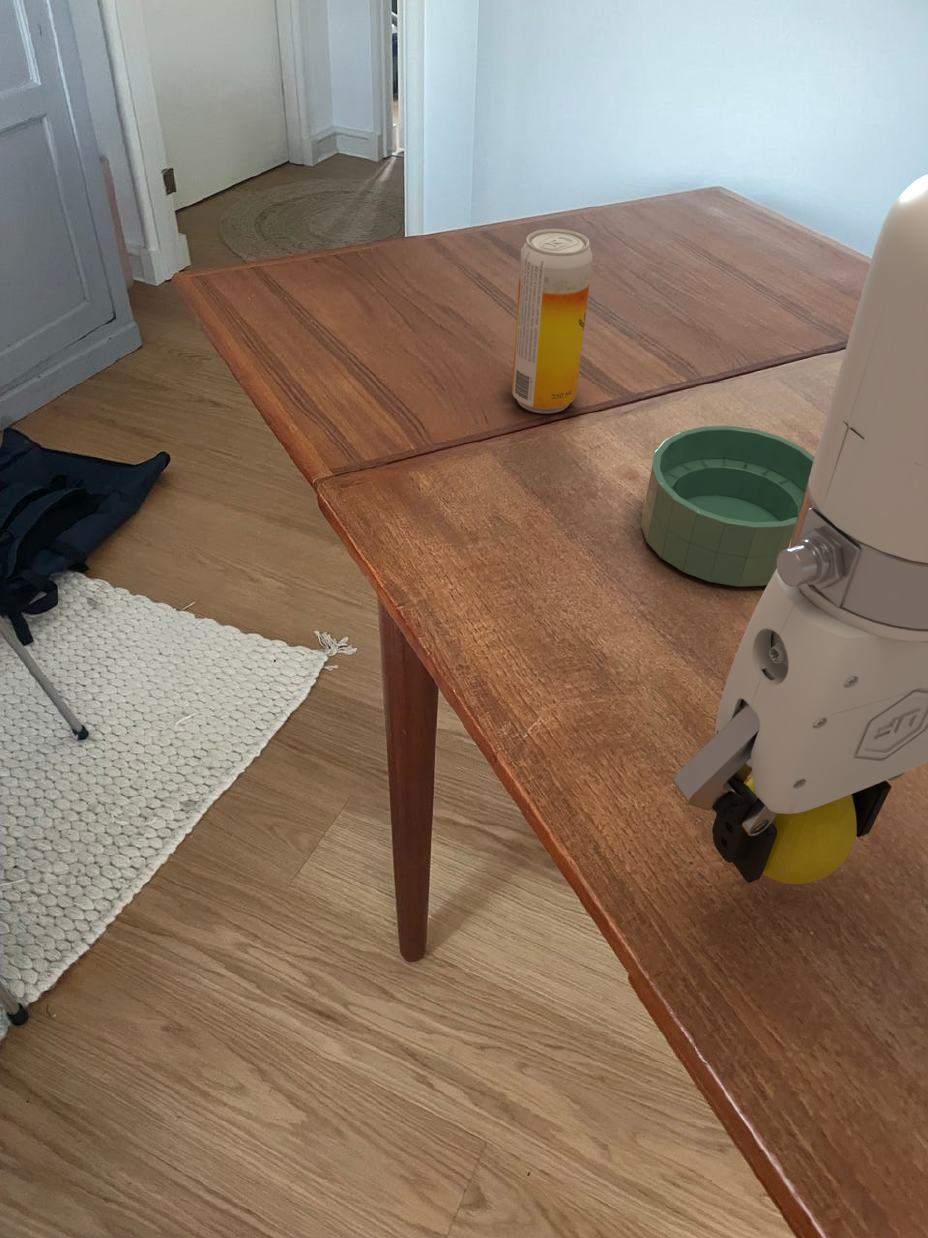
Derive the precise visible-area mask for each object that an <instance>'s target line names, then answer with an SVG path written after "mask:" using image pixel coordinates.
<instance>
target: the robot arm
mask: <svg viewBox="0 0 928 1238" xmlns="http://www.w3.org/2000/svg"><path fill="white" fill-rule="evenodd" d="M878 234H879V235H878V238H877V240H876V243H875V246H874V250H873V253H872V256H871V259H870V263H869V267H868V271H867V274H866V277H865V281H864V284H863V287H862V291H861V295H860V298H859V302H858V305H857V309H856V312H855V315H854V319H853V323H852V326H851V330H850V333H849V337H848V340H847V344H846V347H845V351H844V354H843V358H842V361H841V365H840V367H839V371H838V375H837V379H836V382H835V385H834V389H833V393H832V396H831V399H830V404H829V407H828V410H827V414H826V417H825V420H824V424H823V428H822V430H821V435H820V437H819V441H818V444H817V448H816V451H815V455H814V457H815V458H814V461H813V465H812V469H811V473H810V476H809V478H808V482H807V485H806V489H805V492H804V496H803V499H802V503H801V506H800V510H799V513H798V516H797V520H796V523H795V527H794V530H793V534H792V538H791V541H790V544H789V548H788V549H785V550H782V551H781V552H780V553H779V554H778V557H777V561H776V566H777V568H776V570H775V572H774V574H773V576H772V578H771V579H770V581H769V583H768V585H766V587H765V589H764V591H763V593H762V595H761V596H760V598H759V601H758V603H757V604H756V607H755V609H754V611H753V613H752V615H751V618H750V620H749V622H748V624H747V627H746V629H745V631H744V634H743V636H742V638H741V641H740V642H739V643H740V644H739V646H738V648H737V651H736V653H735V656H734V659H733V662H732V664H731V667H730V670H729V673H728V675H727V678H726V682H725V685H724V688H723V692H722V695H721V698H720V702H719V705H718V710H717V714H716V721H715V728H714V736H713V737H712V738H711V739H710V740H709V741H708V742H707V743H706V744H705V745H704V746H703V747H702V748H701V749H700V750H698V752H697V753H696V754H695V755H694V756H693V757H692V758H691V759H690V760H689V761H688V762H687V763H686V764H685V765H684V766H683V767H682V768H681V769H680V770H678V771H677V773H676V774H675V775H674V776H673V779H672V783H673V784H674V786H675V787H676V789H677V790H678V791H679V793H680V794H681V796H682V797H683V798H684V800H685V801H686V802H687V803H688V804H689V806H692V807H695V808H699V809H702V810H704V811H708V812H709V811H710V810H711V811H713V812H715V813H716V815H715V818H714V822H713V825H712V827H711V832H712V840H713V841H712V842H713V844H714V846H715V849H716V850H717V852H718V853H719V855H720V856H721V857H722V858H723V860H724V861H725V862H726V863H728V864H732V865H734V867H735V869H737V871H738V872H739V874H740V875H741V876H742V878H743V879H744V880H745V882H747V883H748V884H750V883H753V882H756V881H758V880H760V879H761V878H762V875H763V871H764V868H765V866H766V863H767V860H768V858H769V855H770V853H771V850H772V847H773V845H774V842H775V839H776V837H777V829H776V827H775V825H774V824H773V823H772V822H773V820H774V819H775V817H776V816H777V815H778V813H780V814H793V813H800V812H804V811H807V810H810V809H814V808H816V807H819V806H822V805H824V804H827V803H830V802H832V801H835V800H837V799H840V798H843V797H845V796H848V795H850V794H851V795H852V797H853V802H854V807H855V812H856V823H857V835H856V838H862V837H863V836H866V835H868V834H870V833H871V830H872V828H873V826H874V824H875V822H876V819H878V817H879V814H880V812H881V810H882V807H883V805H884V803H885V802H886V799H887V797H888V795H889V793H890V791H891V789H892V787H893V786H892V785H891V784H890V783H889V782H890V781H891V782H892V781H895V780H897V779H899V778H901V777H902V776H903V775H904V774H906V772H910V771H911V770H914V769H916V768H919V767H921V766H923V765H926V764H928V173H927V174H925V175H923V176H921V177H919V178H917V179H915V180H914V181H913V182H912V183H911V184H910V185H909V186H907V187H906V189H904V190H903V191H902V192H901V193H900V194H899V195H898V197H897V198H896V199H895V201H894V202H893V203H892V205H891V206H890V208H889V211H888V212H887V214H886V215H885V218H884V219H883V223H882V226H881V229H880V232H879V233H878ZM751 773H752V777H753V784H754V789H755V792H756V795H757V796H756V795H755V794H754V793H753V791H752V790H751V789H750V788H749V786H748V785H746V784H747V783H745V782H746V780H748V778H749V776H750V775H751ZM888 781H889V782H888Z"/></svg>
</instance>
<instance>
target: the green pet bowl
mask: <svg viewBox="0 0 928 1238" xmlns="http://www.w3.org/2000/svg"><path fill="white" fill-rule="evenodd" d="M814 458H815V455H813V454H812V453H811V452H809V451H808V450H807V449H806V448H804V447H802V446H801V445H799V444H796V443H795V442H792V441H790V440H788V439H787V438H785V437H782V436H779V435H776V434H774V433H771V432H767V431H763V430H760V429H755V428H748V427H742V426H735V425H704V426H700V427H694V428H690V429H687V430H682V431H680V432H678V433H675V434H674V435H672V436H669V437H668V438H666V439H664V440H663V441H662V443H661V444H660V445H659V446H658V448H657V449H656V450H654V452H653V456H652V462H651V466H650V472H649V477H648V481H647V486H646V487H647V488H646V493H645V498H644V504H643V509H642V514H641V520H640V521H641V522H640V527H641V531H642V533H643V535H644V539H645V541H646V543H647V544H648V545H649V547H651V549H652V550H653V551H654V552H655V553H656V555H658V557H660V558H661V560H664V561H665V562H667V563H668V564H670V565H672V566H673V567H674V568H676V569H678V570H679V571H681V572H683V573H685V574H687V575H689V576H692V577H696V578H698V579H701V580H703V581H706V582H710V583H715V584H720V585H727V586H732V587H733V586H734V587H739V588H740V587H759V586H761V587H762V586H767V585H768V583H769V581H770V579H771V578H772V576H773V574H774V572H775V570H776V568H777V566H776V561H777V557H778V554H779V553H780V552H781V551H782V550H785V549H788V548H789V544H790V541H791V538H792V534H793V530H794V527H795V523H796V520H797V516H798V513H799V510H800V506H801V503H802V499H803V496H804V492H805V489H806V485H807V482H808V478H809V476H810V473H811V469H812V465H813V461H814Z"/></svg>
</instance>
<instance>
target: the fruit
mask: <svg viewBox="0 0 928 1238" xmlns="http://www.w3.org/2000/svg"><path fill="white" fill-rule="evenodd" d="M745 784H746V785H748V786H749V788H750V789H751V790H752V791H753V793H754V794H755V795H756V792H755V789H754V784H753V776H752V777H751V778H750V779H749V780H748V781H747V782H746V783H745ZM756 796H757V795H756ZM772 823H773V824H774V825H775V827H776V829H777V837H776V839H775V842H774V845H773V847H772V850H771V853H770V855H769V858H768V860H767V863H766V866H765V868H764V871H763V874H762V875H763V876H766V877H767V878H769V879H772V880H773V881H776V882H780V883H785V884H789V885H807V884H812V883H815V882H817V881H820V880H823V879H826V878H827V877H828V876H830V875H832V874H833V873H834V872H835V871H836V870H837V869H838V868H840V866H841V865H842V864H843V863H844V862H845V861H846V860H847V859H848V858H849V856H850V854H851V852H852V848H853V846H854V844H855V840H856V838H857V836H856V835H857V823H856V812H855V807H854V802H853V797H852V795H851V794H850V795H848V796H845V797H843V798H840V799H837V800H835V801H832V802H830V803H827V804H824V805H822V806H819V807H816V808H814V809H810V810H807V811H804V812H800V813H793V814H780V813H778V815H777V816H776V817H775V819H774V820H773V822H772Z"/></svg>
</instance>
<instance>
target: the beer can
mask: <svg viewBox="0 0 928 1238" xmlns="http://www.w3.org/2000/svg"><path fill="white" fill-rule="evenodd" d="M593 257H594V255H593V252H592V249H591V246H590V240H589V238H588V237H587V236H585V235H584V234H582V233H580V232H577V231H574V230H570V229H563V228H545V229H539V230H535V231H533V232H531V233H529V234H528V235H527V237H526V241H525V243H524V244H523V246H522V248H521V250H520V261H519V273H518V275H519V276H518V289H517V290H518V291H517V292H518V293H517V304H516V306H517V307H516V320H515V337H514V351H513V364H512V365H513V367H512V368H513V369H512V382H511V393H512V396H513V398H514V399H515V400H516V401H517V403H518V405H519V406H521V408H522V409H525V410H527V411H530V412H532V413H538V414H556V413H560V412H562V411H564V410H565V409H567V408H568V407H569V406H570V404H571V403H573V402H574V401H575V399H577V398H576V397H577V393H578V384H579V376H580V375H579V374H580V367H581V359H582V351H583V350H582V349H583V341H584V333H585V326H586V325H585V324H586V316H587V307H588V301H589V300H588V299H589V292H590V283H591V282H590V281H591V275H592V274H591V273H592V266H593Z"/></svg>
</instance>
